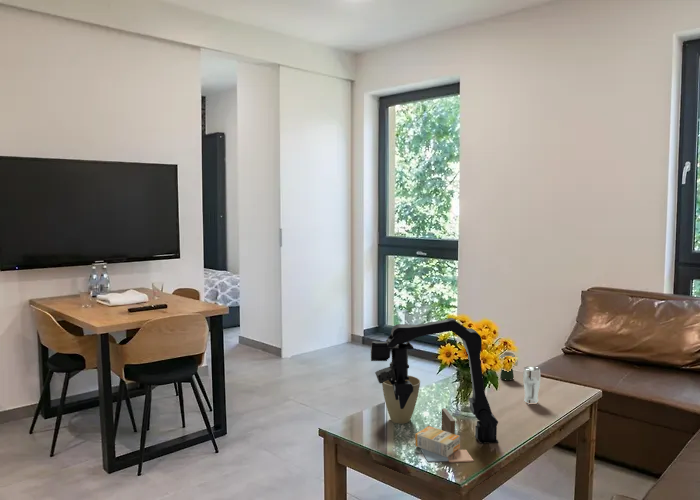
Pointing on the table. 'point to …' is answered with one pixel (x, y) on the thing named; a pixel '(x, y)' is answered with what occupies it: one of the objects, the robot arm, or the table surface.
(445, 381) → the table surface
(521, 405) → the table surface
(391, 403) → the plant pot
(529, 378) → the beer glass
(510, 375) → the character mug
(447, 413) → the walnut screen
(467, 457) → the terracotta mat
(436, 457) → the slate-blue mat
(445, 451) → the supplement box
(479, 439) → the robot arm
